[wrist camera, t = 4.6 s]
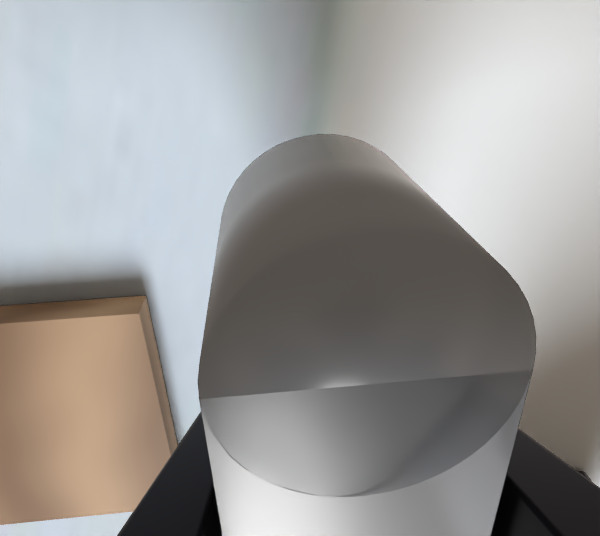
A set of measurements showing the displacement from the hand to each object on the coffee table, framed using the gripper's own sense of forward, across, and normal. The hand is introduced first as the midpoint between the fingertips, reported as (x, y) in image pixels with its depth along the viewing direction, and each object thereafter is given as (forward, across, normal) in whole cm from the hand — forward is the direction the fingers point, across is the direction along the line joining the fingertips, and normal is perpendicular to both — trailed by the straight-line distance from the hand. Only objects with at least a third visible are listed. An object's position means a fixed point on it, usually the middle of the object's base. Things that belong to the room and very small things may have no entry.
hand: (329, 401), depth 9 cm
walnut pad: (+8, +11, +7) cm, 15 cm away
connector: (+1, 0, +1) cm, 2 cm away
